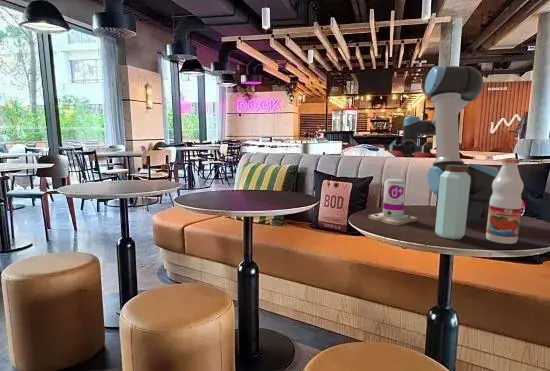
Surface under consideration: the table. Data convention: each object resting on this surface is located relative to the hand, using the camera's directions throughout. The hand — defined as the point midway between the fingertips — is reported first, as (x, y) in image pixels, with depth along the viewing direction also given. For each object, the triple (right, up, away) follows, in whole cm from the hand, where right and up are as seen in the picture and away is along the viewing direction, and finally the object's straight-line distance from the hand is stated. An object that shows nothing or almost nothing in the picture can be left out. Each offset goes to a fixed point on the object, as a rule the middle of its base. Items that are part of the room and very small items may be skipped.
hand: (406, 149), depth 169 cm
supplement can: (-10, -29, -12) cm, 32 cm away
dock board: (-10, -30, -12) cm, 34 cm away
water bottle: (+4, -34, -34) cm, 48 cm away
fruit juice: (+20, -35, -38) cm, 55 cm away
